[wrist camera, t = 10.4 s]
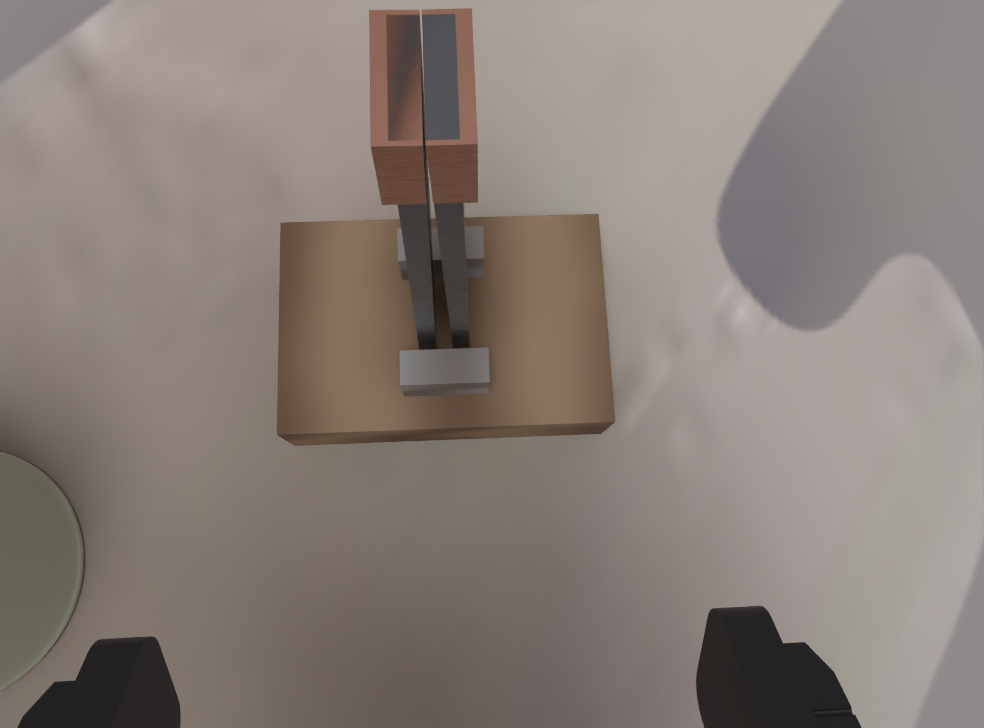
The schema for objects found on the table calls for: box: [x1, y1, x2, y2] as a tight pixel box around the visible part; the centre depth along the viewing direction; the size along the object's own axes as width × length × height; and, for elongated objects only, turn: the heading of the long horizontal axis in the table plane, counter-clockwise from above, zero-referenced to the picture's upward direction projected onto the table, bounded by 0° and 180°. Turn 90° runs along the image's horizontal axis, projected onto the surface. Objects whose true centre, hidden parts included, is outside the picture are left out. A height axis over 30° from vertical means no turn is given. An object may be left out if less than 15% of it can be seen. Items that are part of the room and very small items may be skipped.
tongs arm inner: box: [369, 10, 436, 350], centre depth 21 cm, size 1×3×15 cm, turn 3°
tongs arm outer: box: [422, 8, 478, 349], centre depth 21 cm, size 1×3×15 cm, turn 2°
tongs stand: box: [277, 214, 615, 446], centre depth 30 cm, size 12×8×5 cm, turn 92°
